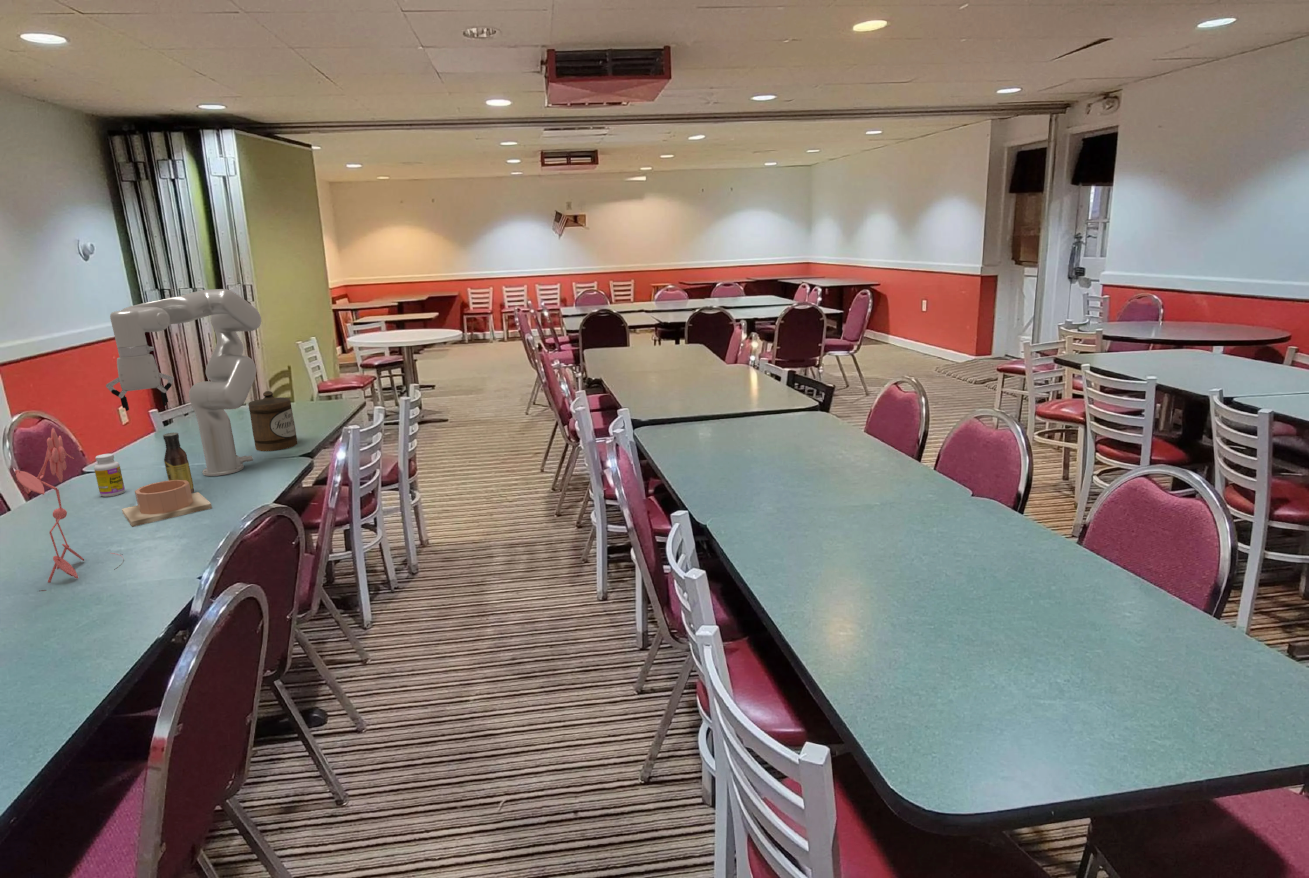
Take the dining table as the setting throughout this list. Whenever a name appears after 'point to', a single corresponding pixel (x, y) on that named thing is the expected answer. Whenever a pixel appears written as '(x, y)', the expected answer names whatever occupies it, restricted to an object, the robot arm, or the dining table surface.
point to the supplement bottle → (108, 476)
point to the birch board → (138, 518)
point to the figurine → (35, 484)
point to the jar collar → (164, 496)
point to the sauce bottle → (176, 460)
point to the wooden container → (272, 423)
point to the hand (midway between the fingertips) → (146, 407)
